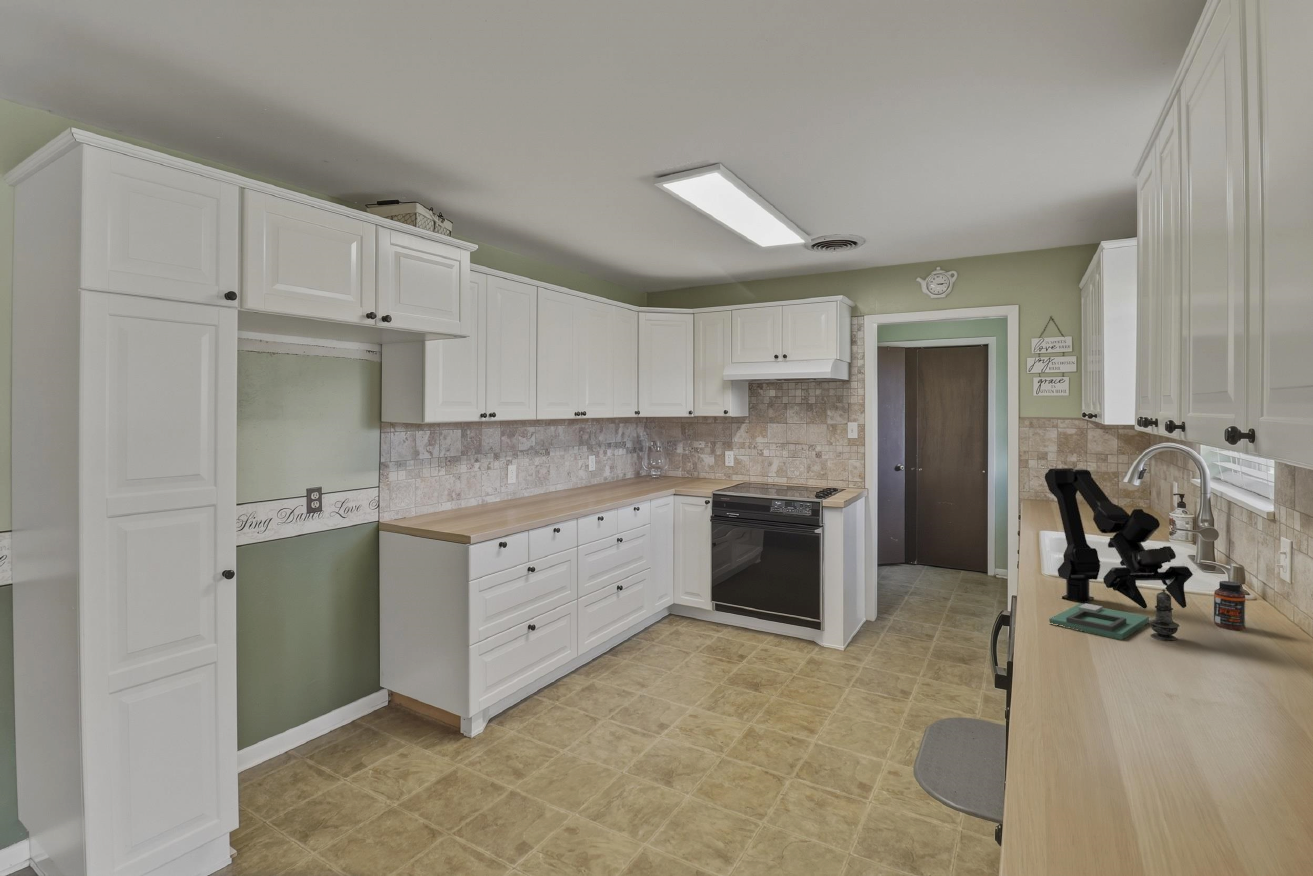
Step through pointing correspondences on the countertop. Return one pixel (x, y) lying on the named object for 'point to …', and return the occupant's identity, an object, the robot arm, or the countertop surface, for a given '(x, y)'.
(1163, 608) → the weathered stone pawn
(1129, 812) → the countertop surface
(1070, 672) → the countertop surface
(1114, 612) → the socket board
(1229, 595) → the supplement bottle
